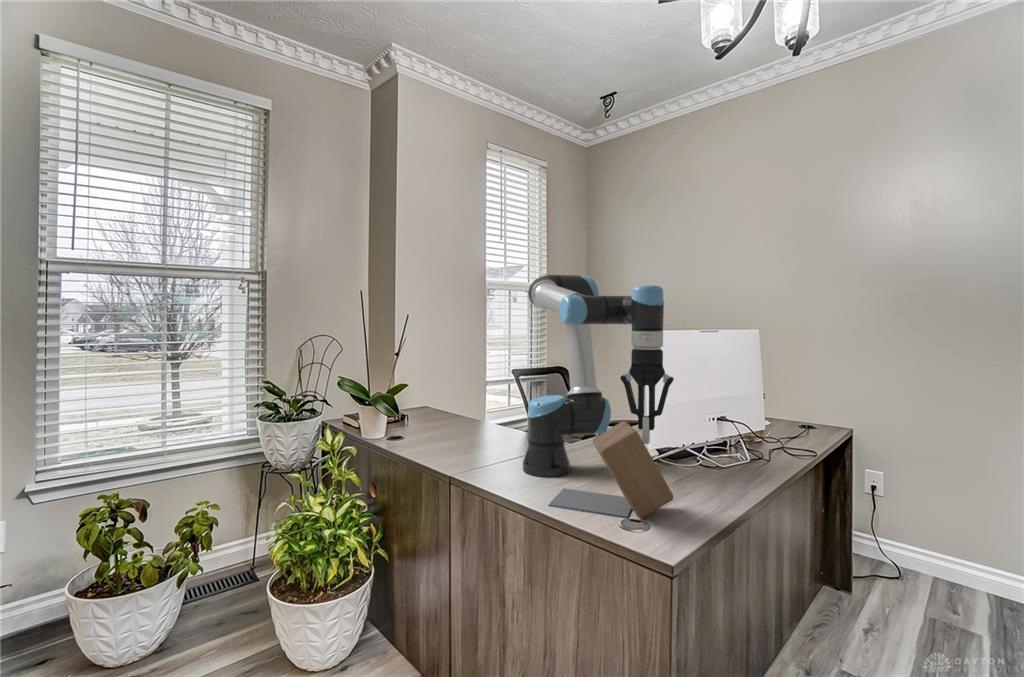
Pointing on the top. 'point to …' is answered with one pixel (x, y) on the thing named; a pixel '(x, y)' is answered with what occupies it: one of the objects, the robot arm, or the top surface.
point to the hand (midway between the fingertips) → (646, 442)
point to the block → (633, 469)
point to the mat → (592, 502)
